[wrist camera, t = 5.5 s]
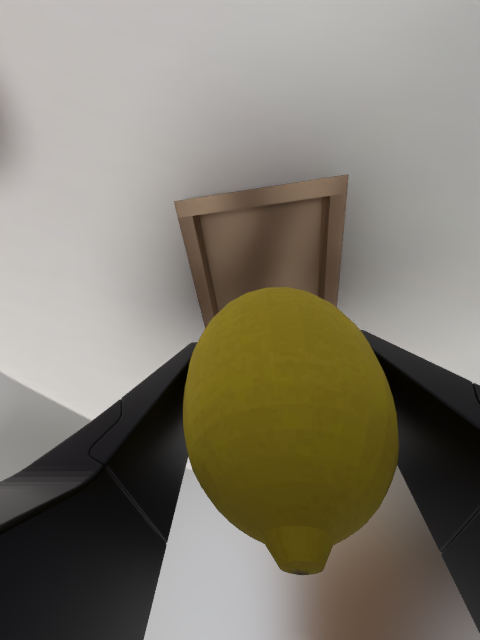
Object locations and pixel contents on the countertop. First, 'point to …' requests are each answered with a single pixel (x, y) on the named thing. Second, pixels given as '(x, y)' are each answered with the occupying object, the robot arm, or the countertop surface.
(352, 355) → the lemon
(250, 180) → the countertop surface
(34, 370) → the countertop surface
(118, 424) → the robot arm
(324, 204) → the tray
